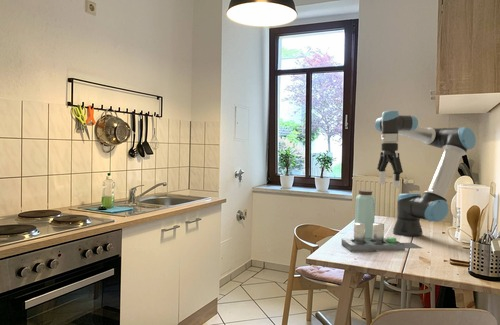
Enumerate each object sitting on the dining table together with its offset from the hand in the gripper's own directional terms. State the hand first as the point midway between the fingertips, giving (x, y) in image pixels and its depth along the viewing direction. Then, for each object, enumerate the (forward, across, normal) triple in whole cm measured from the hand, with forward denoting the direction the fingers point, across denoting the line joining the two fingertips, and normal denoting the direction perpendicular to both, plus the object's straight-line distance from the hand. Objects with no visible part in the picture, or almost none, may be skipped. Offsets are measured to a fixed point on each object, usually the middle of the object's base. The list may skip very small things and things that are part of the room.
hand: (389, 185), depth 179 cm
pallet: (+29, +6, -11) cm, 31 cm away
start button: (+27, +6, -2) cm, 27 cm away
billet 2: (+27, +6, -8) cm, 29 cm away
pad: (+29, +4, +8) cm, 31 cm away
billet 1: (+27, +6, -18) cm, 33 cm away
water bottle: (+29, -13, -7) cm, 33 cm away
